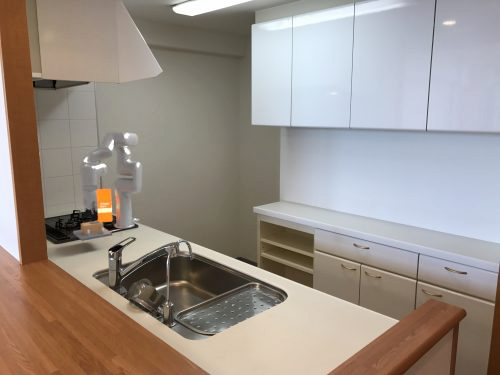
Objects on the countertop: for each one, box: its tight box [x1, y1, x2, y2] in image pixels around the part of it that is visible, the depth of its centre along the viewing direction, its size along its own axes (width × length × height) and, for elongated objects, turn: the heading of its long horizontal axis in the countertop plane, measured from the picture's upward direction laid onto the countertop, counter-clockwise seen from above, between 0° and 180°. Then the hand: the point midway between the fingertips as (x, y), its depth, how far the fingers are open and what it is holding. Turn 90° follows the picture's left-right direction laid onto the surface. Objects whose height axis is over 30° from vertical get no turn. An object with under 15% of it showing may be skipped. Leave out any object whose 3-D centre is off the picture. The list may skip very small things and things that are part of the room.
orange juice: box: [96, 188, 113, 223], centre depth 256 cm, size 8×9×20 cm
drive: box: [80, 220, 104, 235], centre depth 225 cm, size 10×6×5 cm, turn 129°
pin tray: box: [72, 226, 113, 242], centre depth 226 cm, size 16×16×4 cm
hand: (92, 218), depth 225 cm, fingers open, 9 cm apart
